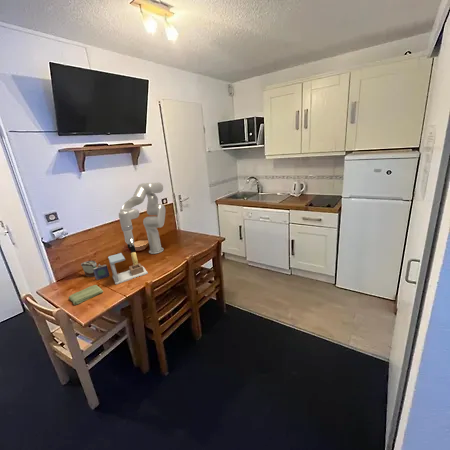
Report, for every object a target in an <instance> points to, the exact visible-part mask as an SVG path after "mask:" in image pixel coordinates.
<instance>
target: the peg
mask: <svg viewBox="0 0 450 450" xmlns="http://www.w3.org/2000/svg"><path fill="white" fill-rule="evenodd" d="M130 255H131V260H132V266H133V265H136V264H139V261H138V257H137V253H136V251H134V252H131V253H130Z"/></svg>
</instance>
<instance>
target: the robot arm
mask: <svg viewBox="0 0 450 450" xmlns="http://www.w3.org/2000/svg"><path fill="white" fill-rule="evenodd" d="M163 190H164V185H163V184H162V183H161V182H145V183H144V182H142V183H139V184H138V185H137V188H136V190H135V192H134V194H133V196H132V197H130V198H129V199H127V200H126V201H125V202H124V203H123V205H122V206H121V208H120V211H119V212H118V218H119V223H120V227H121V231H122V232H123V236H124V242H125V244H127V248H128V249H130V252H131V253H132V252H136V247H135V239H134V234H133V230H134V227H133V222H132V220H135V219H138V218H139V216H140V210H138V209H137V208H134V207H136V206H139V205H141V204H142V203H143V202H144V201H145V198H146V197H147V205H146V214H147V215H148V216H146V217H144V218H143V222H142V224H143V226H144V229H145V232H146V236H147V240H148V244H149V245H148V246H149V250H148V253H149V254H150V255H157V254H159V253H162V252H164V249H165V248H164V247H162V243H161V238H160V232H159V230H158V228H159V229H160V228H163V227H164V224H165V222H166V221H165V220H166V206H165V205H164V204H163V203H159V198H158V195H156V194H159V193H162V192H163Z"/></svg>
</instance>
